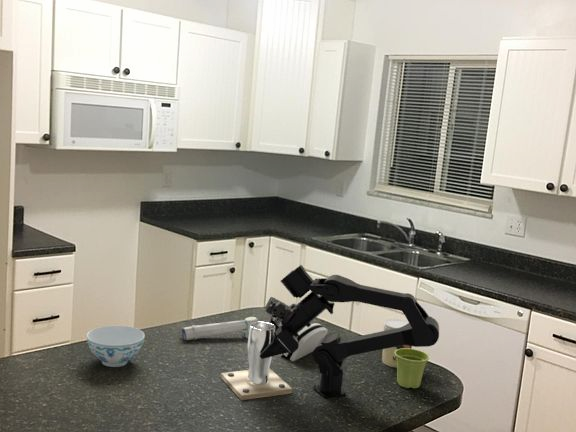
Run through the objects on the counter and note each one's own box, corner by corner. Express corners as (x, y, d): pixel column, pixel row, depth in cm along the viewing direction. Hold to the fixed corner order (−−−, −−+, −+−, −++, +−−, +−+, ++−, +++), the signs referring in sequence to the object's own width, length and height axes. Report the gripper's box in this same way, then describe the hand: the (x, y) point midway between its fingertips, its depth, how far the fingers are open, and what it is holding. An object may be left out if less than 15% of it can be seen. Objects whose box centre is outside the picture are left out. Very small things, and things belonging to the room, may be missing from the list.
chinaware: (132, 349, 182) (133, 323, 181) (151, 368, 170) (153, 340, 169) (78, 355, 174) (79, 328, 173) (95, 377, 162) (96, 348, 161)
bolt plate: (291, 393, 162) (292, 387, 162) (241, 400, 156) (241, 394, 156) (268, 371, 175) (268, 366, 174) (220, 377, 168) (221, 372, 168)
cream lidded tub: (390, 370, 184) (395, 330, 182) (373, 358, 192) (378, 319, 190) (417, 367, 187) (422, 328, 185) (399, 355, 196) (404, 318, 194)
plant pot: (384, 383, 174) (388, 352, 173) (402, 374, 181) (405, 345, 180) (414, 394, 168) (418, 363, 167) (431, 385, 175) (435, 355, 174)
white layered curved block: (308, 342, 200) (320, 316, 197) (319, 351, 198) (332, 324, 195) (278, 356, 186) (291, 328, 183) (290, 366, 184) (303, 338, 181)
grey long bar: (180, 325, 195) (257, 311, 204) (181, 345, 196) (258, 331, 205) (184, 330, 190) (262, 316, 199) (185, 351, 191) (264, 336, 200)
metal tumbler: (240, 376, 167) (245, 322, 164) (265, 374, 169) (270, 320, 167) (249, 388, 160) (254, 331, 158) (275, 385, 163) (280, 329, 161)
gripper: (282, 279, 171) (238, 316, 171) (289, 299, 153) (239, 341, 153) (308, 309, 173) (265, 346, 174) (318, 332, 155) (269, 373, 155)
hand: (259, 350), depth 164 cm, fingers open, 9 cm apart
